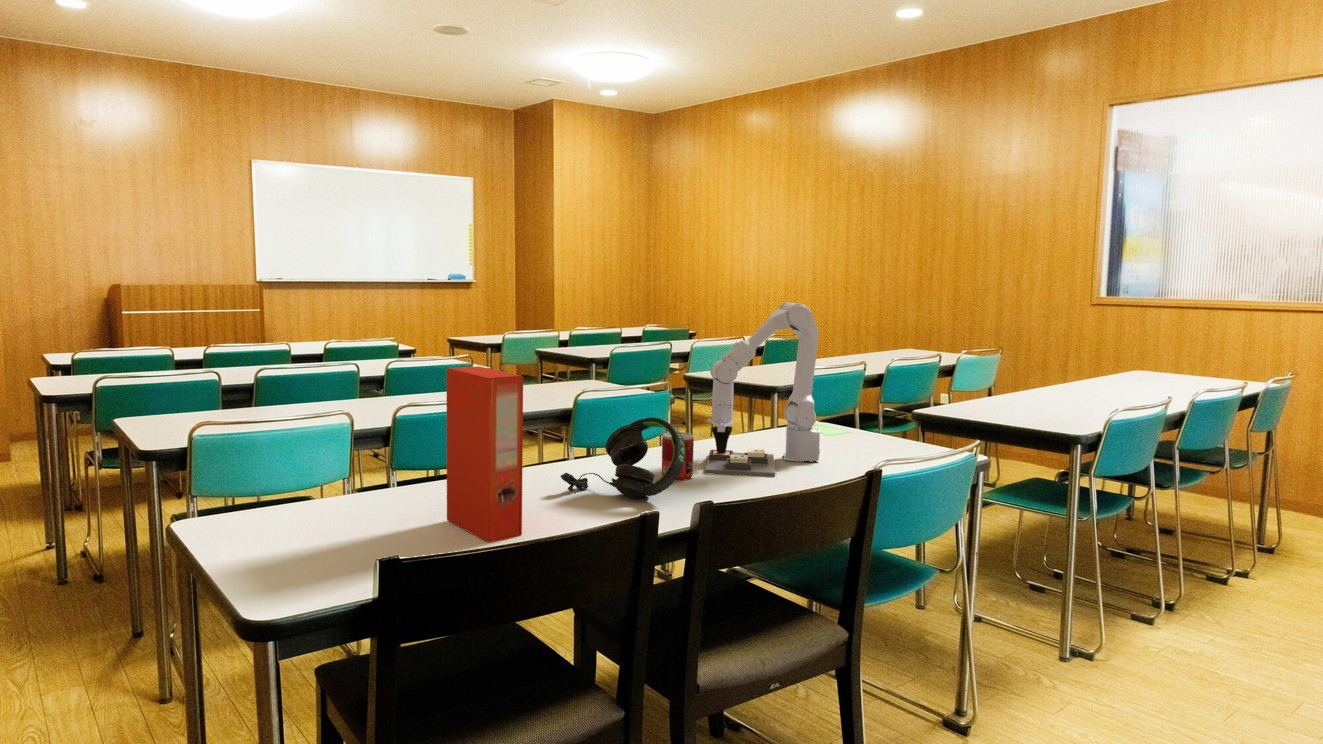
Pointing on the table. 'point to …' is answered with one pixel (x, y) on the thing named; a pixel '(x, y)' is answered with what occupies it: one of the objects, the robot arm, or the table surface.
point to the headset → (636, 460)
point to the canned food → (669, 452)
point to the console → (741, 465)
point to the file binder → (485, 452)
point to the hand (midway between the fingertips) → (721, 452)
